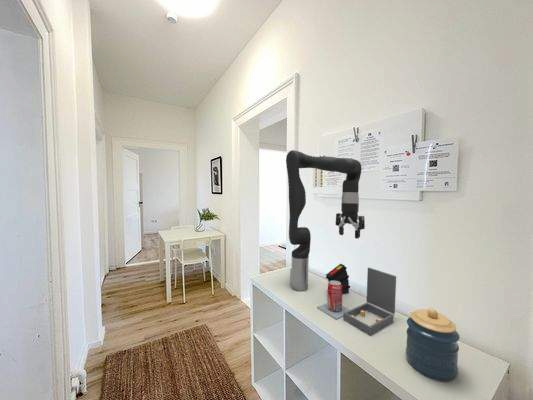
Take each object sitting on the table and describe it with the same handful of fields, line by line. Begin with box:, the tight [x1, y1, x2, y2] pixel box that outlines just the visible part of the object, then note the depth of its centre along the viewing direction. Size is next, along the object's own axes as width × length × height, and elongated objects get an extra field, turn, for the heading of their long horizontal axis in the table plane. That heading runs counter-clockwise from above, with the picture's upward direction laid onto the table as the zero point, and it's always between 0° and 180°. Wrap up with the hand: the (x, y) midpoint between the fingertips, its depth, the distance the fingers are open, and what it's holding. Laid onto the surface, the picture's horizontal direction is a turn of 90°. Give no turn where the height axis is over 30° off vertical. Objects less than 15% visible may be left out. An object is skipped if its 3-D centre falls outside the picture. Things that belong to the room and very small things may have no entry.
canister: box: [405, 308, 460, 382], centre depth 69 cm, size 13×13×18 cm
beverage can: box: [326, 280, 343, 311], centre depth 100 cm, size 6×6×12 cm
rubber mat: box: [316, 302, 351, 321], centre depth 100 cm, size 11×11×1 cm
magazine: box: [325, 263, 351, 295], centre depth 116 cm, size 4×13×15 cm, turn 114°
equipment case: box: [342, 267, 397, 337], centre depth 92 cm, size 12×17×19 cm
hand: (349, 236), depth 105 cm, fingers open, 8 cm apart
